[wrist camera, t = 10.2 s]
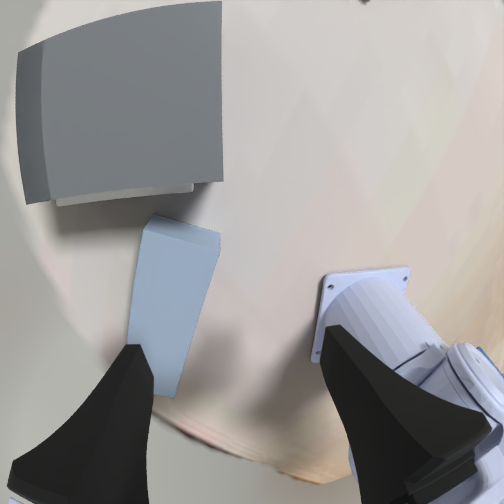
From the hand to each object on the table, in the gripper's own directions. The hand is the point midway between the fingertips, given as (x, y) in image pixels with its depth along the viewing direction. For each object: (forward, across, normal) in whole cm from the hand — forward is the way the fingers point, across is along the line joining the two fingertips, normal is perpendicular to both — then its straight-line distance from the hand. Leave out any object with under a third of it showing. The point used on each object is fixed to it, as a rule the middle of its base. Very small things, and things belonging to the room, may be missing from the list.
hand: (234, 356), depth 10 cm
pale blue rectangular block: (+10, +5, +5) cm, 12 cm away
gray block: (+10, +5, -10) cm, 14 cm away
